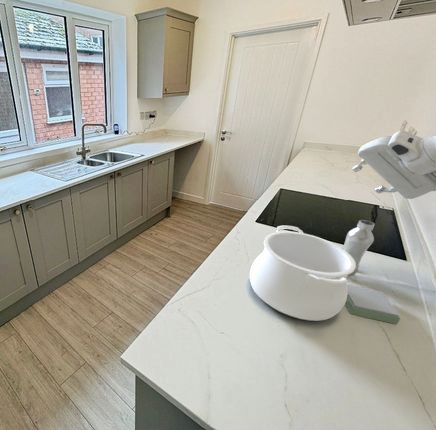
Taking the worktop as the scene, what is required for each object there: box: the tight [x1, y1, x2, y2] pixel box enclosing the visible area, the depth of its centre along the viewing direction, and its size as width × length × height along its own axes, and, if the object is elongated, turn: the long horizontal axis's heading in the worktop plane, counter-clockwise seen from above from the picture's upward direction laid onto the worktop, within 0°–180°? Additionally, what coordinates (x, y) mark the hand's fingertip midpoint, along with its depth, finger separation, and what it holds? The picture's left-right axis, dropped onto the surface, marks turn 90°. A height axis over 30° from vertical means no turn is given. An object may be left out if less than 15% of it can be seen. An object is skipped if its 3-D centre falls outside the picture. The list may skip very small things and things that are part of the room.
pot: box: [249, 225, 356, 322], centre depth 78 cm, size 28×24×17 cm
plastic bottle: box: [341, 219, 375, 277], centre depth 87 cm, size 6×7×20 cm
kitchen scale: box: [344, 284, 401, 325], centre depth 77 cm, size 10×10×3 cm
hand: (365, 180), depth 83 cm, fingers open, 8 cm apart
